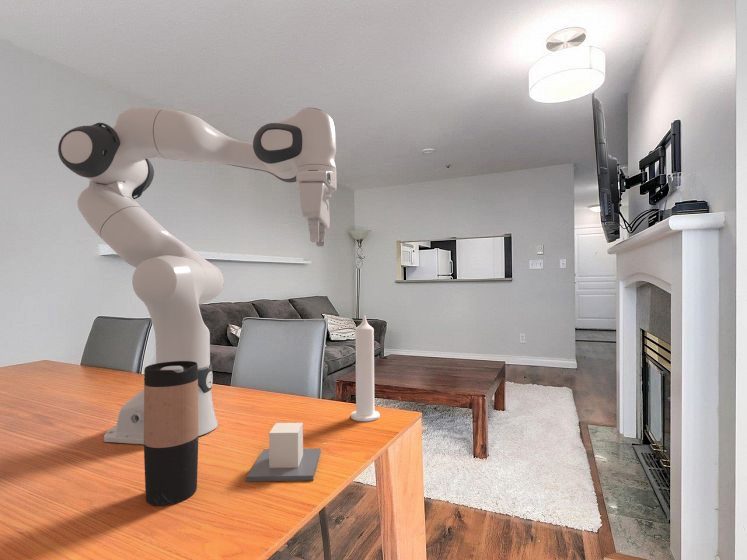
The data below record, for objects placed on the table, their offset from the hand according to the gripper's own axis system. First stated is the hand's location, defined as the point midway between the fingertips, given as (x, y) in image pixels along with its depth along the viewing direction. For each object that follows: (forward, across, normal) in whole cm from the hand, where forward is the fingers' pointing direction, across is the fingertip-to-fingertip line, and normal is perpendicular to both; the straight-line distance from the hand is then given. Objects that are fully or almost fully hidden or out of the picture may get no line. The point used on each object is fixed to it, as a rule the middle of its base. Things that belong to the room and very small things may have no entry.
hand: (317, 244), depth 89 cm
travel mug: (+42, +27, -20) cm, 53 cm away
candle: (+42, -9, +10) cm, 44 cm away
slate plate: (+42, +18, -4) cm, 45 cm away
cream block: (+41, +18, -4) cm, 44 cm away
